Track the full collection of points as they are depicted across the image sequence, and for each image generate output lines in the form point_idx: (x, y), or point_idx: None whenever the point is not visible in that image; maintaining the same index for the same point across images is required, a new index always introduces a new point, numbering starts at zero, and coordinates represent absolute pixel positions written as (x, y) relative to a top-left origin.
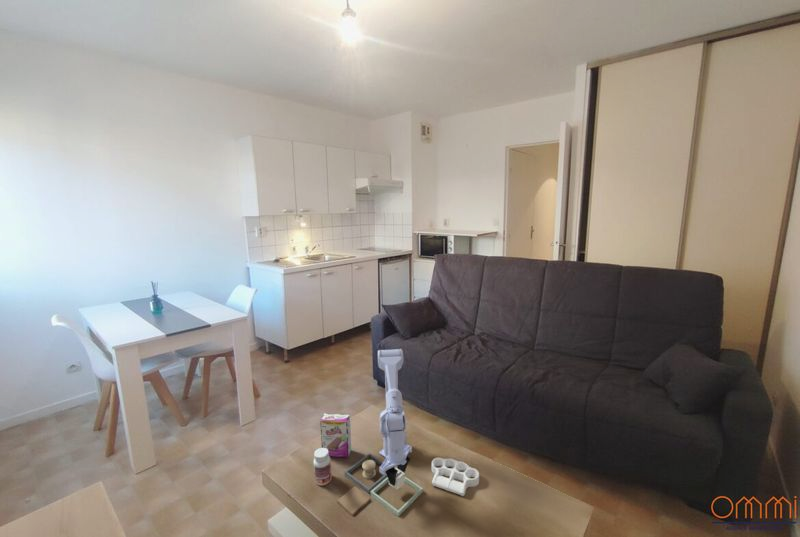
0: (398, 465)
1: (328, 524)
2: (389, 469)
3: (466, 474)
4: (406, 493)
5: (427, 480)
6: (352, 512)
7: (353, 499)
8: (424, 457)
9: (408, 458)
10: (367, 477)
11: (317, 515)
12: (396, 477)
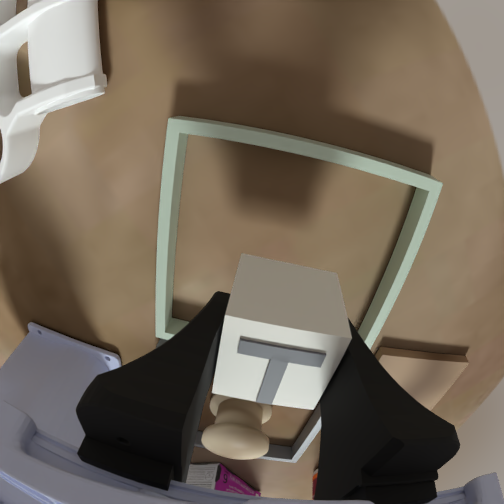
0: (202, 402)
1: (495, 385)
2: (428, 492)
3: None
4: (249, 206)
5: (89, 142)
6: (463, 366)
7: None
8: (5, 240)
9: (98, 421)
10: (268, 407)
11: (466, 419)
12: (324, 354)
